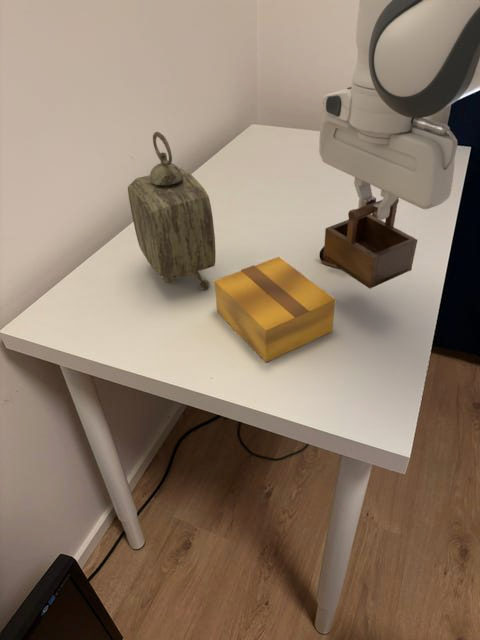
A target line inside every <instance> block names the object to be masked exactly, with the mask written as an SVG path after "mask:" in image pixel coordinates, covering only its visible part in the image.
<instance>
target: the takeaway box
mask: <svg viewBox="0 0 480 640" xmlns="http://www.w3.org/2000/svg"><path fill="white" fill-rule="evenodd" d="M214 291H215V302H216V304H215V305H216V312H217V313H218V314H219V315H220V316H221V317H222V318H223V319H224V320H225V321H226V322H227V324H229V325H230V327H232V328H233V330H234V331H235V332H236V333H237V334H238V336H240V337H241V338H242V339H243V340H244V341H245V342H246V343H247V344H248V345H249V346H250V348H252V350H254V352H255V353H256V354H258V356H259V357H260V358H261V360H263V361H264V362H265V363H268V362H271V361H272V360H274V359H276V358H279V357H281V356H283V355H285V354H286V353H289V352H291V351H294V350H295V349H297V348H300V347H301V346H305V345H307V344H308V343H310V342H312V341H314V340H316V339H318V338H321V337H322V336H325V335H327V334H329V333H331V332H333V326H334V325H333V324H334V319H335V318H334V316H335V310H336V309H335V307H336V299H335V298H334V297H333V296H332V295H330V294H329V293H328V292H326V291H325V290H324V289H322V288H321V287H320V286H319V285H317V284H316V283H315V282H313V281H312V280H310V279H309V278H308V277H307V276H305V275H304V274H302V273H301V272H300V271H298V270H297V269H296V268H295V267H293V266H292V265H291V264H289V263H288V262H287V261H286V260H284V259H283V258H281V257H280V256H276V257H274V258H272V259H269V260H266V261H263V262H261V263H258V264H253V265H250V266H248V267H245V268H242V269H240V270H239V271H237V272H234V273H231V274H229V275H226V276H223V277H221V278H218V279H215V280H214Z"/></svg>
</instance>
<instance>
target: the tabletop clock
mask: <svg viewBox="0 0 480 640" xmlns="http://www.w3.org/2000/svg"><path fill="white" fill-rule="evenodd" d="M152 134H153V135H152V144H153V148H154V151H155V154H156V155H157V157H158V159H159V161H160V163H157V164H156V165H154V166H153V167H152V168H151V170H150V173H149V175H145V176H140V177H136V178H135V179H134V180H133V181H132V182H131V183H130V184H129V185H128V186H127V194H128V200H129V205H130V210H131V216H132V217H131V218H132V221H133V226H134V230H135V231H134V232H135V235H136V239H137V243H138V246H139V248H140V251H141V253H142V255H143V256H144V257H145V259H146V260H147V262H148V264H149V265H150V266H151V268H152V269H153V270H154V272H155V273H156V274H157V275H158V276H159V277H162V280H163V282H164V283H170V282H171V281H172V280H174V279H177V278H180V277H184V276H187V275H191V274H192V275H194V277H195V278H196V279H197V280H198V281H199V287H200V288H201V289H202V290H207V289H209V287H210V282H209V281H208V280H206V279H203V277H202V276H201V274H200V271H203V270H206V269H210V268H214V267H215V266H216V235H215V226H214V217H213V211H212V204H211V201H210V197H209V195H208V192H207V191H206V189H205V188H204V186H203V185H202V184H201V183H200V182H199V181H198V180H197V179H196V178H195V176H194V175H192V174H191V173H189V172H188V171H187V170H185V169H184V168H183V167H180V168H179V166H177V165H176V164H174V163H173V155H172V154H173V153H172V150H171V147H170V144H169V141H168V140H167V138H166V136H165V135H163V134H162V133H161V132H159V131H155V132H154V133H152ZM157 138H158V139H160V141H161V142H162V143H163V145H164V147H165V149H166V152H167V153H166V152H164V151H162V152H160V150H159V148H158V145H157ZM167 154H168V155H167Z"/></svg>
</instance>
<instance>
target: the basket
mask: <svg viewBox="0 0 480 640" xmlns="http://www.w3.org/2000/svg"><path fill="white" fill-rule="evenodd" d="M382 200H383V198H382V199H380V200H376V202H374V203H371V204H368V205H366V206H363V207H360V208H353V209H350V210H349V211H348V213H347V216H348V219H346V220H344V221H341V222H338V223H336V224H333V225H330V226H328V227H326V228H325V231H324V245H323V247H324V256H323V257H324V258H325V259H326V260H328V261H329V262H331V263H332V264H334V265H335V266H337V267H338V268H340V269H339V270H341V271H342V272H344V273H345V274H347V275H348V276H350V277H352V278H353V279H355V280H356V281H357V282H358V283H360V284H361V285H363V286H365V287H366V288H367V289H369V290H370V289H373V288H375V287H377V286H379V285H382V284H384V283H386V282H389V281H391V280H392V279H394V278H397V277H399V276H402V275H403V274H405V273H408V272H411V271H412V268H413V264H414V258H415V254H416V249H417V245H418V239H417V238H416V237H413V236H412V235H410V234H407V232H404V231H402V230H400V229H398V228H396V227H395V222H396V221H395V220H396V215H397V209H398V204H399V202H400V198H397V200H396V201H395V202H394V203H393V204H392V205H391V207H390V213H389V216H388V217H387V218H386V219H385V220H384V221H383V220H380V219H378V218H376V217H374V216H372V215H370V214H372V212H373V205H374V204H379V203H380V202H381V201H382ZM338 268H337V269H338Z"/></svg>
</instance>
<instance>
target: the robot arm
mask: <svg viewBox="0 0 480 640" xmlns="http://www.w3.org/2000/svg"><path fill="white" fill-rule="evenodd" d="M355 30H356V31H355V41H356V42H355V43H356V48H357V60H356V64H355V68H354V71H353V72H352V78H351V86H349V87H347V88H344V89H340V90H337V91H334V92H330V93H327V94H325V95H323V96H322V98H321V111H322V112H323V113H324V115H323V116H322V117H321V120H320V127H319V139H318V140H319V141H318V143H319V145H318V148H319V149H318V152H319V155H320V159H321V161H322V162H323V164H326V165H328V166H330V167H331V168H334V169H336V170H339V171H341V172H343V173H345V174H348V175H349V176H352V177H353V178H354V181H353V185H354V188H355V191H356V194H357V197H358V206H357V207H358V208H360V207H363V206H366V205H368V204H371V203H374V202H377V197H375V196H373V192H372V187H371V186H373V187H375V188H377V189H379V190H380V197H381V198H382V199H383V200H382V199H381V200H382V201H381V202H380V203H379V204H374V205H373V212H372V216H374V217H376V218H378V219H379V220H381V221H383V220H386V218H387V217H388V216H389V213H390V207H391V205H392V204H393V203H394V202H395V201H396V200H397V198H398V199H400V200H403V201H405V202H407V203H410V204H411V205H413V206H415V207H418V208H420V209H422V210H429V209H431V208H435V207H437V206H439V205H442V204H443V203H445V202H446V201H448V199H449V198H450V196H451V193H452V188H453V182H454V173H455V163H456V162H455V160H456V154H457V148H458V139H457V138H456V136H455V134H454V133H453V132H452V131H451V127H450V126H449V125H447V124H445V123H442V122H435V121H433V120H431V119H429V118H428V117H430V116H434V115H435V114H438V113H439V112H441V111H443V110H444V109H446V108H448V107H450V106H451V105H453V104H454V103H455V102H457V101H459V100H462V99H463V98H465V97H468V96H470V95H472V94H475V93H476V92H479V91H480V0H359V3H358V12H357V21H356V29H355Z"/></svg>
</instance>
